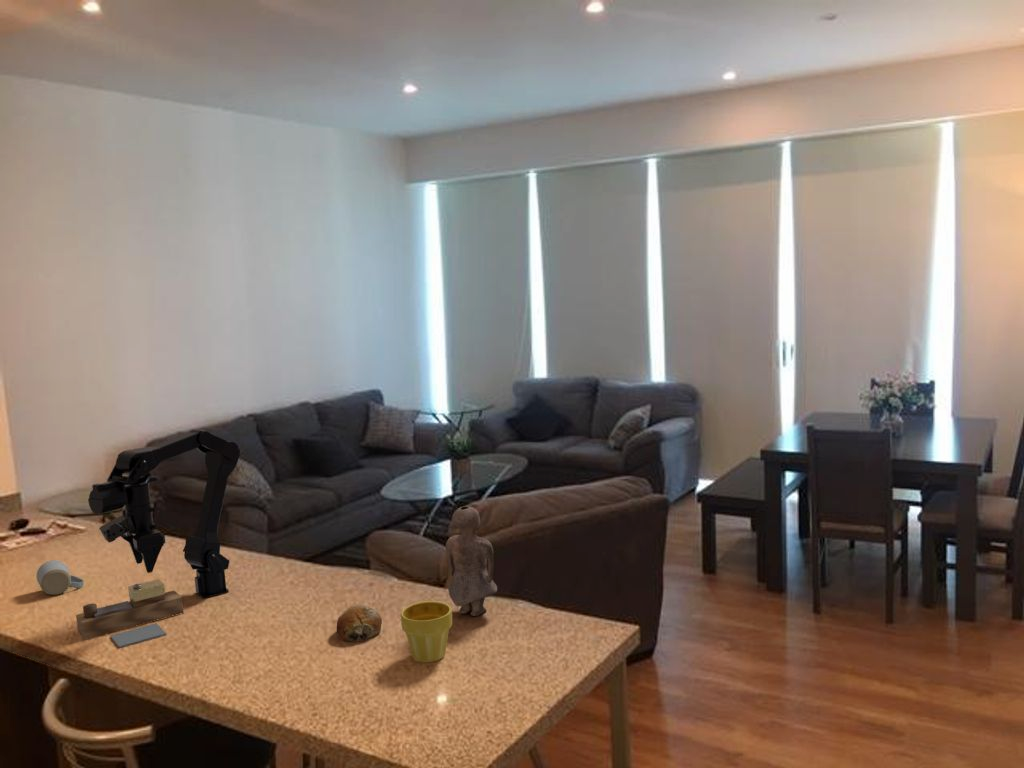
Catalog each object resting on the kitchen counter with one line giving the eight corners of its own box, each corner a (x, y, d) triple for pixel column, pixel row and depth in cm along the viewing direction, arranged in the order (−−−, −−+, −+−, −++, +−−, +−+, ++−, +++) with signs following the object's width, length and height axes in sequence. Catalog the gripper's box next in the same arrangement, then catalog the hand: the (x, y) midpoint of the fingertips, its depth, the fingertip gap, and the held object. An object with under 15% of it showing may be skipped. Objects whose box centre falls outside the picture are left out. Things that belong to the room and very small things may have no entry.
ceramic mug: (41, 599, 221) (39, 570, 220) (37, 591, 228) (35, 562, 227) (87, 590, 227) (84, 562, 226) (81, 582, 234) (79, 554, 233)
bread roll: (387, 644, 192) (392, 607, 194) (365, 643, 182) (371, 604, 185) (348, 640, 195) (353, 604, 197) (325, 638, 186) (331, 601, 188)
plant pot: (434, 671, 169) (431, 623, 168) (393, 661, 175) (390, 615, 174) (464, 650, 178) (461, 605, 177) (424, 641, 183) (421, 597, 182)
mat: (156, 624, 200) (156, 623, 200) (166, 634, 194) (166, 633, 194) (110, 637, 194) (110, 635, 194) (119, 648, 188) (119, 646, 188)
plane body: (175, 605, 212) (173, 580, 211) (183, 613, 207) (180, 587, 206) (78, 631, 199) (74, 604, 198) (83, 639, 193) (80, 612, 193)
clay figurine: (507, 608, 199) (502, 504, 196) (485, 624, 191) (479, 515, 188) (460, 601, 206) (454, 499, 203) (437, 616, 197) (430, 510, 194)
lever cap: (159, 589, 208) (158, 576, 208) (165, 594, 205) (163, 581, 204) (129, 596, 204) (127, 584, 204) (134, 601, 200) (132, 589, 200)
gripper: (91, 503, 204) (98, 566, 206) (110, 518, 189) (117, 586, 191) (141, 494, 211) (147, 555, 213) (162, 508, 196) (169, 574, 198)
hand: (144, 567), depth 204 cm, fingers open, 9 cm apart
